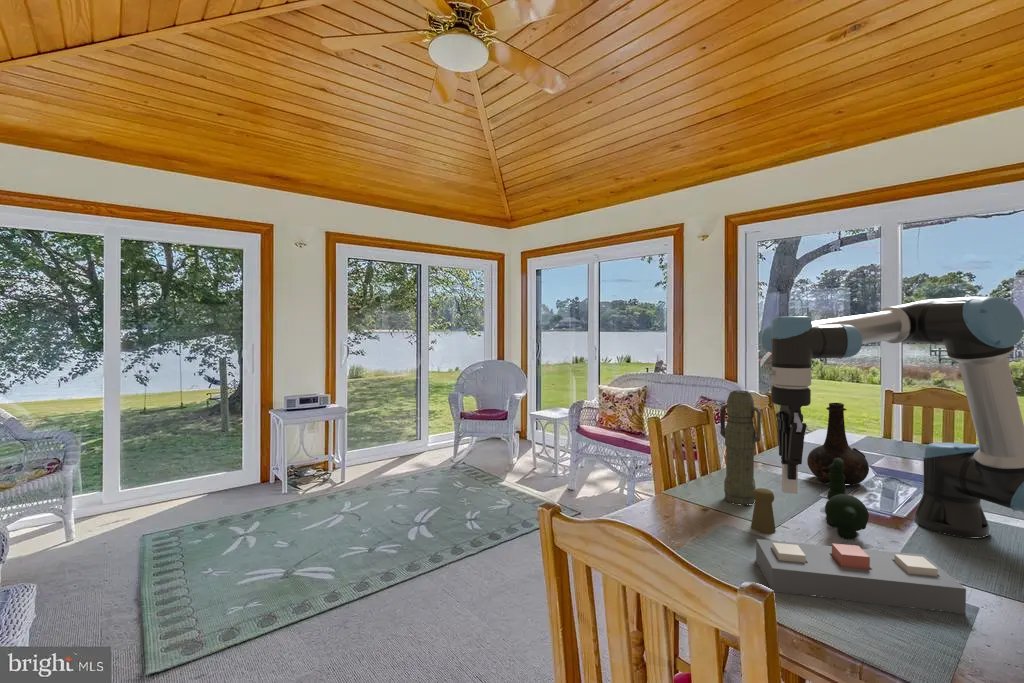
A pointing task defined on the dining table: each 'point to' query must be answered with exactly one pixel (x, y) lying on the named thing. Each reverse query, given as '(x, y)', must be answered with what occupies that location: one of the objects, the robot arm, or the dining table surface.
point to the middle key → (850, 556)
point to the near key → (915, 565)
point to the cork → (763, 511)
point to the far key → (788, 552)
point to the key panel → (860, 579)
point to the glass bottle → (837, 451)
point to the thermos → (740, 446)
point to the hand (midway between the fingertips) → (789, 492)
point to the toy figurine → (843, 505)
